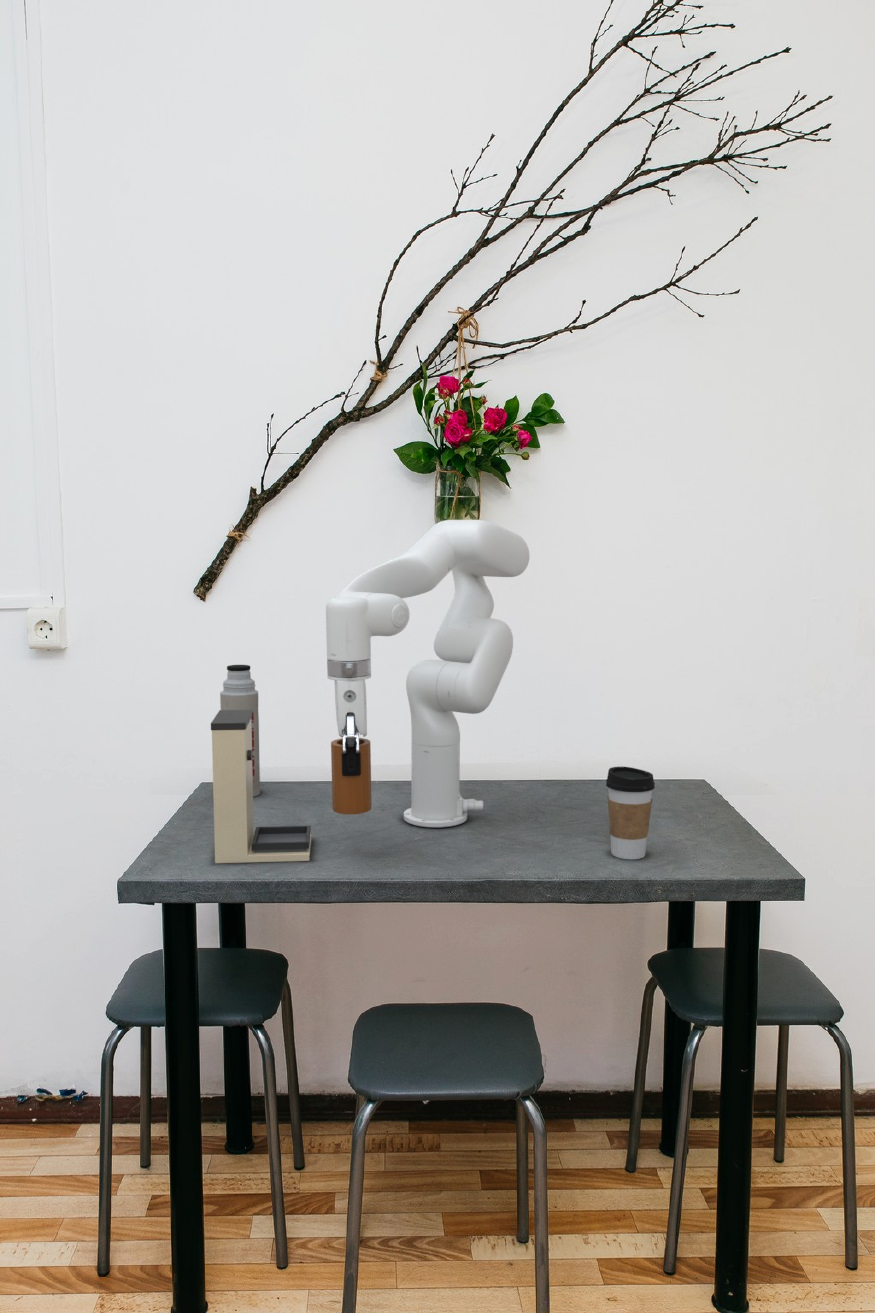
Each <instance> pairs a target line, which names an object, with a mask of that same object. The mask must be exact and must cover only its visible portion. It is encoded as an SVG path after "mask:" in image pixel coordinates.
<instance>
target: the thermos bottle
mask: <svg viewBox="0 0 875 1313" xmlns="http://www.w3.org/2000/svg"><path fill="white" fill-rule="evenodd" d="M226 670H227V675H226V679H225V680H223V683H222V688H223V689H222V690H221V691H220V693H219V697H220V698H219V699H220V710H252V717H251V725H252V776H253V798H254V797H257V796H259V795H260V794H261V772H260V771H261V770H260V769H261V768H260V765H261V764H260V717H259V716H260V714H259V691H258V690H257V689H256V686H257V685H256V682H255V680H254V679H253V678H252V677H251V674H252V673H251V665H249V664H230V665H227V666H226Z"/></svg>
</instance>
